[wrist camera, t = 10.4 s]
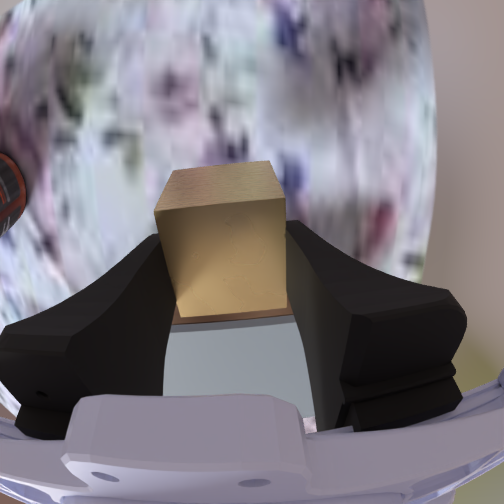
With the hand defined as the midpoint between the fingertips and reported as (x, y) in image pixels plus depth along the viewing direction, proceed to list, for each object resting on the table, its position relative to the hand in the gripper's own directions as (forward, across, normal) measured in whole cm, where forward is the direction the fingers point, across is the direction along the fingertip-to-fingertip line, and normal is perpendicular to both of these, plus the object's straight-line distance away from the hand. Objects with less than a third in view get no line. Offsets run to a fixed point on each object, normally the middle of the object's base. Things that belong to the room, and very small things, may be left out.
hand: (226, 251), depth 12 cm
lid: (+4, +2, +19) cm, 19 cm away
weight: (+3, 0, 0) cm, 3 cm away
